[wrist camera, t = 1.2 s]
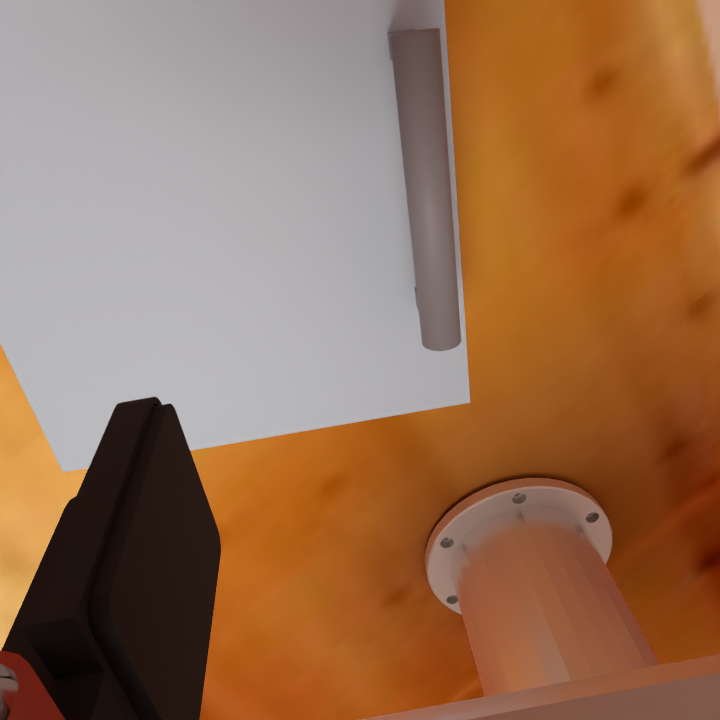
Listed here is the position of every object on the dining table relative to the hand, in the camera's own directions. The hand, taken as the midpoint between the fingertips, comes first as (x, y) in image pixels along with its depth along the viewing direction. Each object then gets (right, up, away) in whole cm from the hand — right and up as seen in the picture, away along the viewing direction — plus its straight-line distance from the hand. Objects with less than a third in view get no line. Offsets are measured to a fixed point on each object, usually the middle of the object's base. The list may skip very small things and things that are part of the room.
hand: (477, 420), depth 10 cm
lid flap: (-7, +6, +13) cm, 17 cm away
